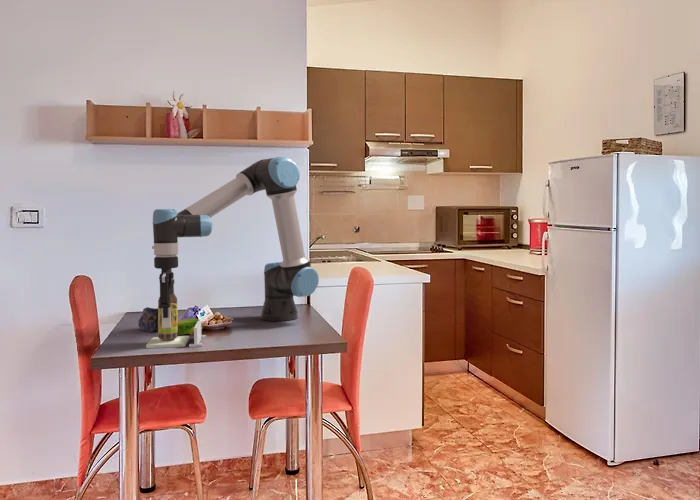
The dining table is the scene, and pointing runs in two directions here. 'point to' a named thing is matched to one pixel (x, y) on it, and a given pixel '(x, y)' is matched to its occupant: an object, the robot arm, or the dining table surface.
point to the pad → (168, 342)
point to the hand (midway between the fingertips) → (168, 325)
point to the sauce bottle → (171, 332)
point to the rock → (149, 319)
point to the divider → (197, 335)
